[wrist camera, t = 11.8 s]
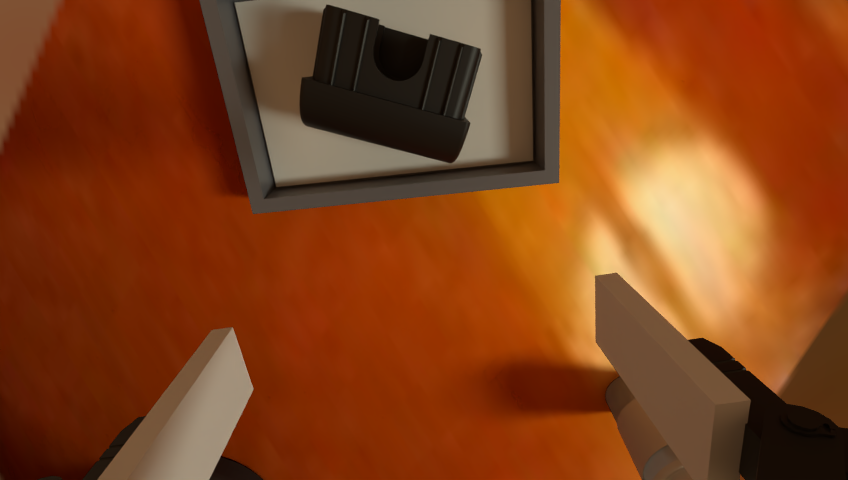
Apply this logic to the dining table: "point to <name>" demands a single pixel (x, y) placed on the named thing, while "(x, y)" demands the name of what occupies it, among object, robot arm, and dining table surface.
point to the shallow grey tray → (370, 163)
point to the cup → (642, 437)
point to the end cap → (389, 86)
